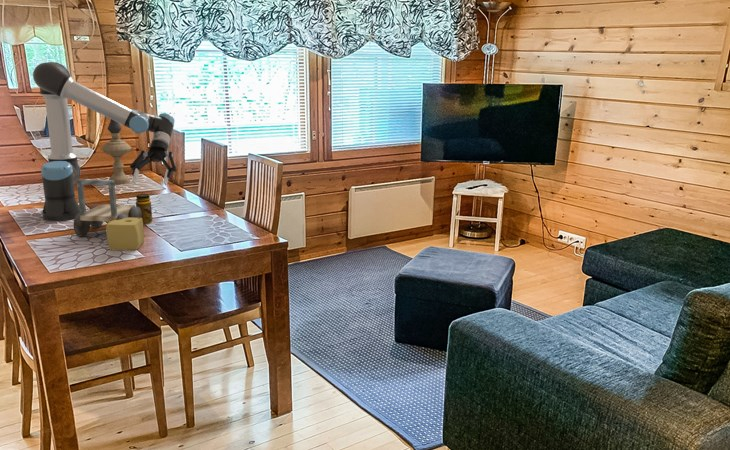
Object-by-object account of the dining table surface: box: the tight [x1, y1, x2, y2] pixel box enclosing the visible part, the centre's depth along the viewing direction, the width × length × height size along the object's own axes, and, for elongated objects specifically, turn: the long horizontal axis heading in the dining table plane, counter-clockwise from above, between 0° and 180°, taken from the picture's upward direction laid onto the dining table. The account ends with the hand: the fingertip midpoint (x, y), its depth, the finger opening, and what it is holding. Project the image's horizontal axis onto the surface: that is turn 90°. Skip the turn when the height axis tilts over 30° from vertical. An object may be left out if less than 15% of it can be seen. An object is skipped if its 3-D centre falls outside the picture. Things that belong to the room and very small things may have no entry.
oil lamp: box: [101, 119, 132, 185], centre depth 314 cm, size 15×15×40 cm
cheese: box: [105, 218, 145, 251], centre depth 213 cm, size 10×11×10 cm
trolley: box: [73, 178, 142, 237], centre depth 228 cm, size 18×21×23 cm
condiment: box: [135, 193, 155, 225], centre depth 243 cm, size 7×8×12 cm
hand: (149, 183), depth 249 cm, fingers open, 13 cm apart
